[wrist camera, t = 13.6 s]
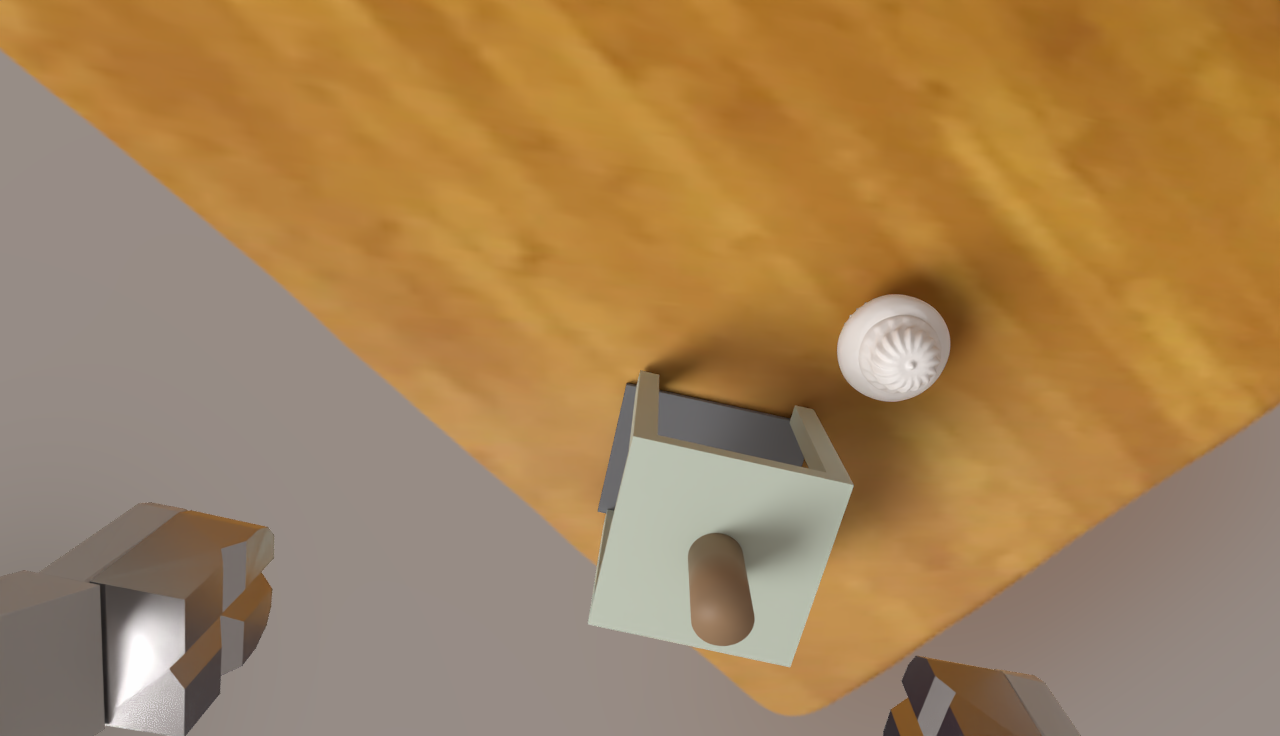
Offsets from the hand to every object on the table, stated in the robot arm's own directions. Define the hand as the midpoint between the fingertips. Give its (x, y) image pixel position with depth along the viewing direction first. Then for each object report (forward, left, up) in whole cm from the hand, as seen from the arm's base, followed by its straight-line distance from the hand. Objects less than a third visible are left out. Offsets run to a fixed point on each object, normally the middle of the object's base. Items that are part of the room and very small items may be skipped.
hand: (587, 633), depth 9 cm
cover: (-7, +13, -35) cm, 38 cm away
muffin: (-15, +2, -36) cm, 39 cm away
